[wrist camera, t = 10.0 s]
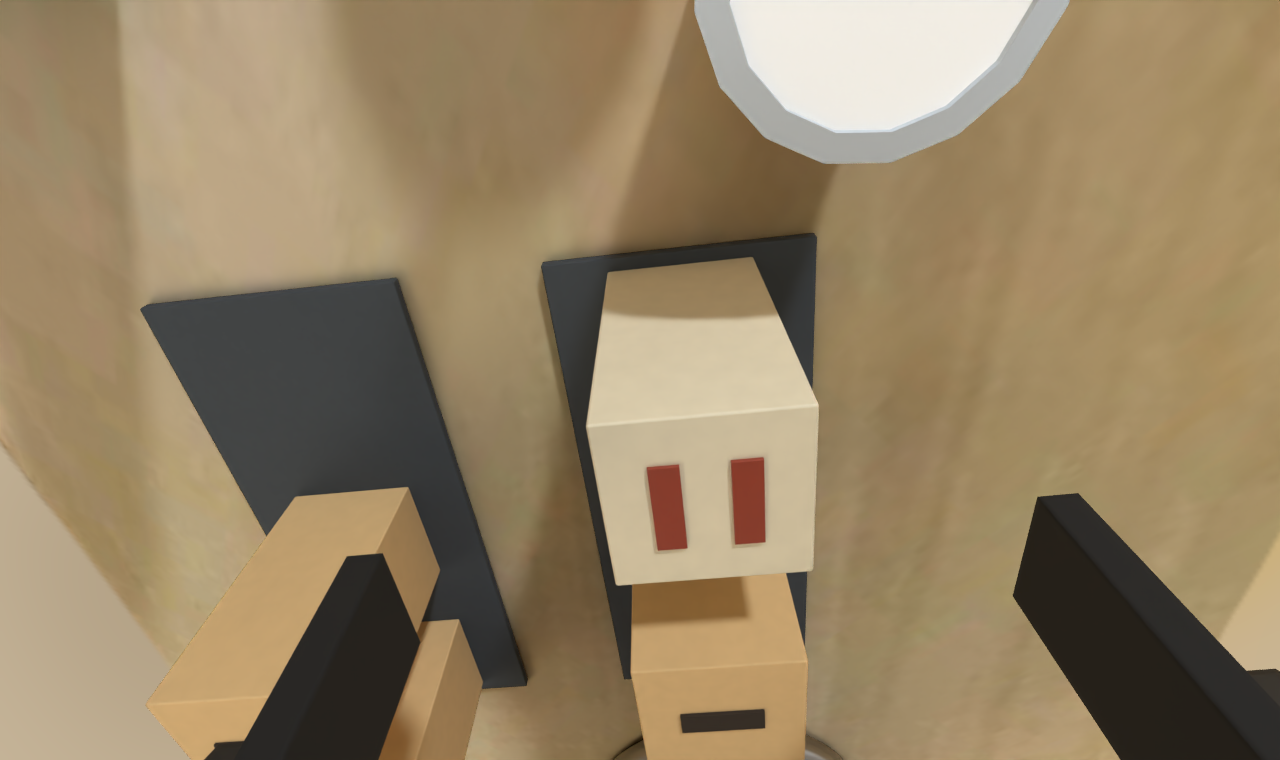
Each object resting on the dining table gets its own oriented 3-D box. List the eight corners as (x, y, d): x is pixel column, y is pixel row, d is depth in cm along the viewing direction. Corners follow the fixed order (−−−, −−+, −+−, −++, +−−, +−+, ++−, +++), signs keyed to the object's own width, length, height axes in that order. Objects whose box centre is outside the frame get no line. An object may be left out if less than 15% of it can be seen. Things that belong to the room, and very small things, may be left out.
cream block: (756, 382, 23) (814, 575, 15) (625, 394, 23) (615, 590, 15) (752, 255, 20) (821, 406, 13) (607, 271, 21) (584, 428, 13)
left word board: (528, 679, 32) (488, 905, 24) (359, 690, 33) (264, 915, 25) (397, 277, 21) (242, 442, 13) (146, 304, 22) (-152, 478, 14)
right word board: (802, 660, 31) (858, 889, 23) (624, 672, 32) (617, 900, 24) (814, 232, 20) (928, 378, 12) (542, 261, 21) (477, 420, 13)
